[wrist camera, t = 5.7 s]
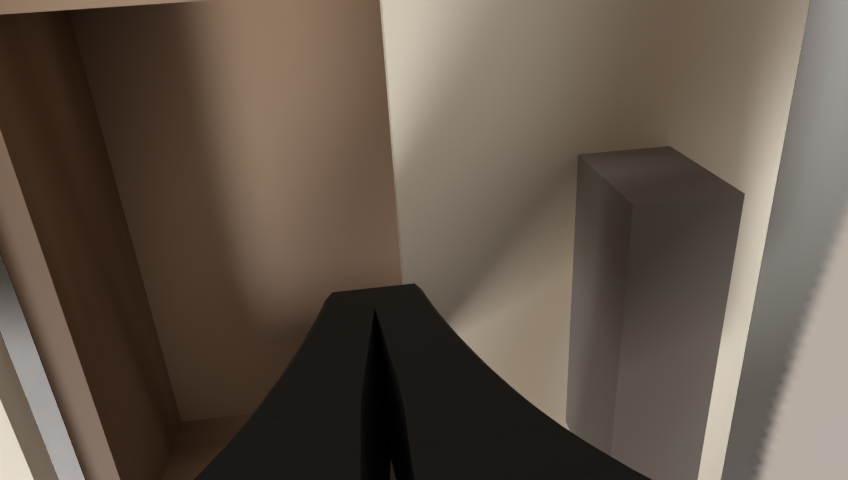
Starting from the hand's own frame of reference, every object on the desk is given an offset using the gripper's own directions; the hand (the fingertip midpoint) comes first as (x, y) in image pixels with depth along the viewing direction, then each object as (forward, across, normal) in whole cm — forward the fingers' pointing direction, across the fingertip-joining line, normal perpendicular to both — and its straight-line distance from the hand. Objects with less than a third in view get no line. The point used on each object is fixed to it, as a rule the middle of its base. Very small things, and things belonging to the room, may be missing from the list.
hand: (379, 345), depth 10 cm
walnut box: (+5, 0, 0) cm, 5 cm away
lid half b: (+1, -3, 0) cm, 4 cm away
